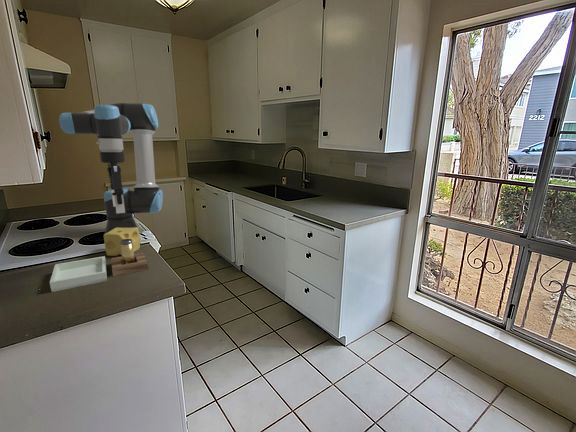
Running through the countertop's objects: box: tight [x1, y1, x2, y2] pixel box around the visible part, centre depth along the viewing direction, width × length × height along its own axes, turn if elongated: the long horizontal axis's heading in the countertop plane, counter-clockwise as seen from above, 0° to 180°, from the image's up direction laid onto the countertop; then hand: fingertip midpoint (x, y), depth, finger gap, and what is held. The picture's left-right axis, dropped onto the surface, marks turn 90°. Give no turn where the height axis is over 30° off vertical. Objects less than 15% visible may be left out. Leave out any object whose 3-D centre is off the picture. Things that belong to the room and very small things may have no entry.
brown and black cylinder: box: [120, 239, 135, 264], centre depth 119 cm, size 4×4×11 cm
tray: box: [49, 255, 108, 293], centre depth 112 cm, size 16×16×4 cm
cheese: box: [103, 226, 141, 257], centre depth 134 cm, size 10×11×10 cm
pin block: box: [110, 252, 149, 277], centre depth 120 cm, size 12×12×2 cm
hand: (119, 209), depth 114 cm, fingers open, 13 cm apart
